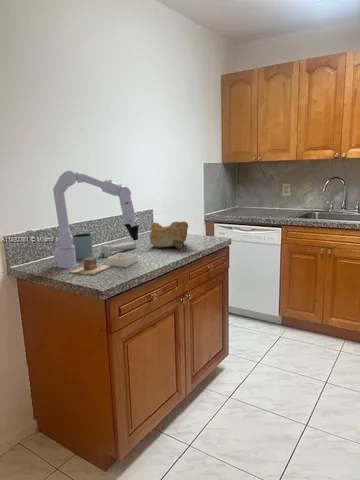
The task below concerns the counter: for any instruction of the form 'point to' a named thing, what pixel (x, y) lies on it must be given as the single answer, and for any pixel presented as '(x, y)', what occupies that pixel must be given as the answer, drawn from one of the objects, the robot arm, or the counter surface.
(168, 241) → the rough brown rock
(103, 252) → the toothpaste tube
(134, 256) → the dish
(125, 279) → the counter surface
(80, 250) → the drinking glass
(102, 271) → the mat
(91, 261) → the lid
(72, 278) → the counter surface
